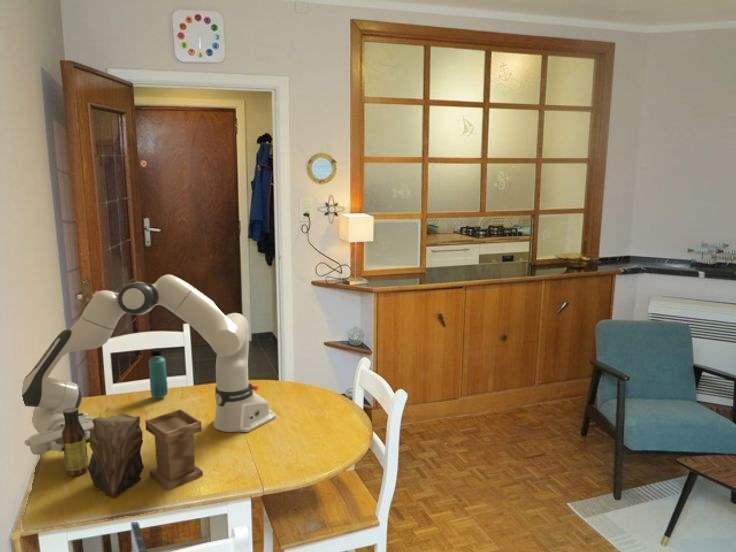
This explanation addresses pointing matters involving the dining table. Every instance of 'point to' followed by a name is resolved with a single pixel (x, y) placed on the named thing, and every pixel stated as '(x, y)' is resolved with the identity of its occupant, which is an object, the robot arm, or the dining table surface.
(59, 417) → the robot arm
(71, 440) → the sauce bottle
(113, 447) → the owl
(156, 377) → the beverage bottle
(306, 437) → the dining table surface
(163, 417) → the display stand
